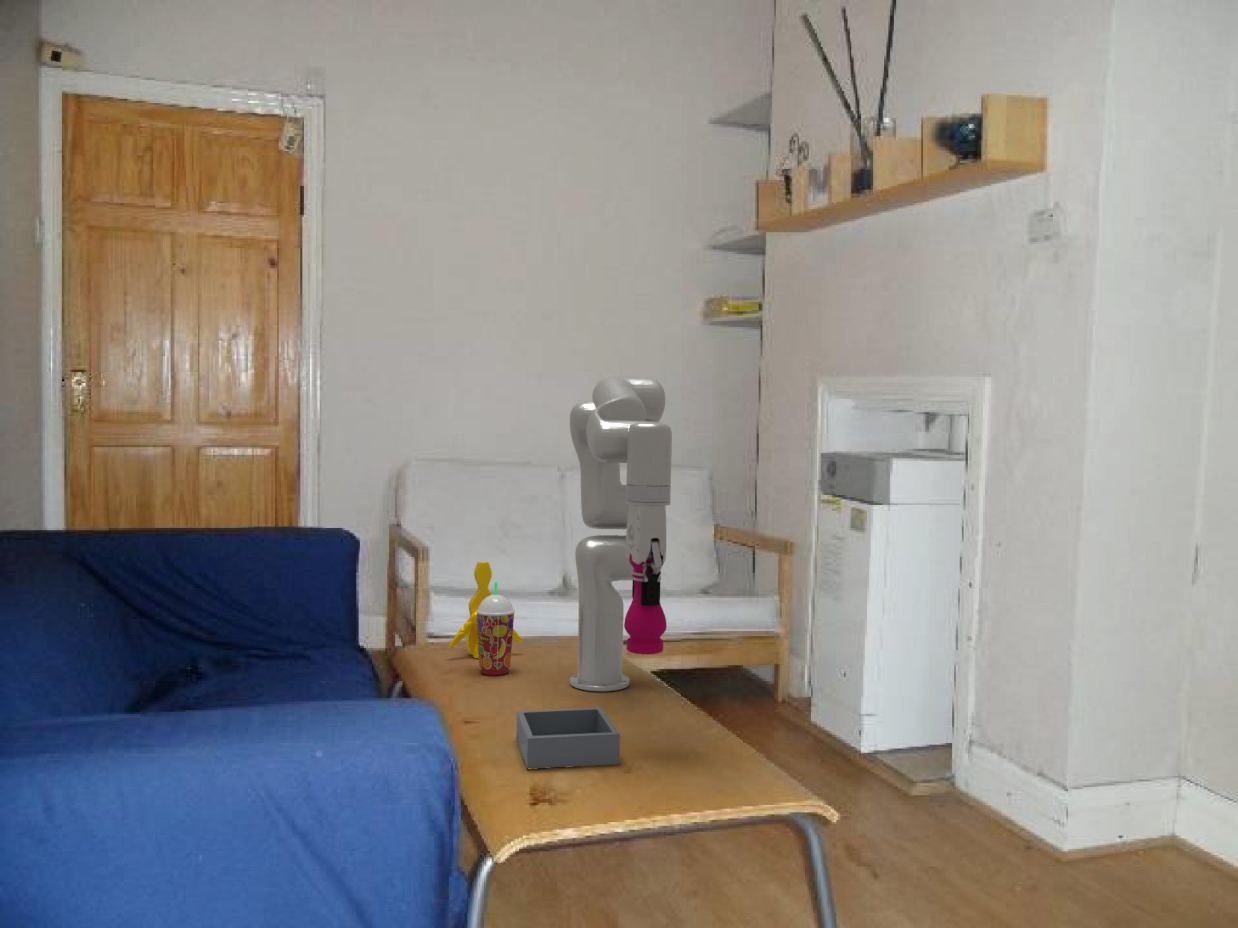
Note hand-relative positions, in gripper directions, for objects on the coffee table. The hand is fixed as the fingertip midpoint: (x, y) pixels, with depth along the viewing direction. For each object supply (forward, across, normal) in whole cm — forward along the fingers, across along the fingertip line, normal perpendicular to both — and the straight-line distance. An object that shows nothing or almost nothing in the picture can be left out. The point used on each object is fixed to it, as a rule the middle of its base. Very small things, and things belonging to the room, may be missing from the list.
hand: (645, 601), depth 167 cm
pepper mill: (+9, 0, 0) cm, 9 cm away
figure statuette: (+26, -70, -20) cm, 77 cm away
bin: (+25, 0, -13) cm, 29 cm away
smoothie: (+26, -54, -20) cm, 63 cm away
